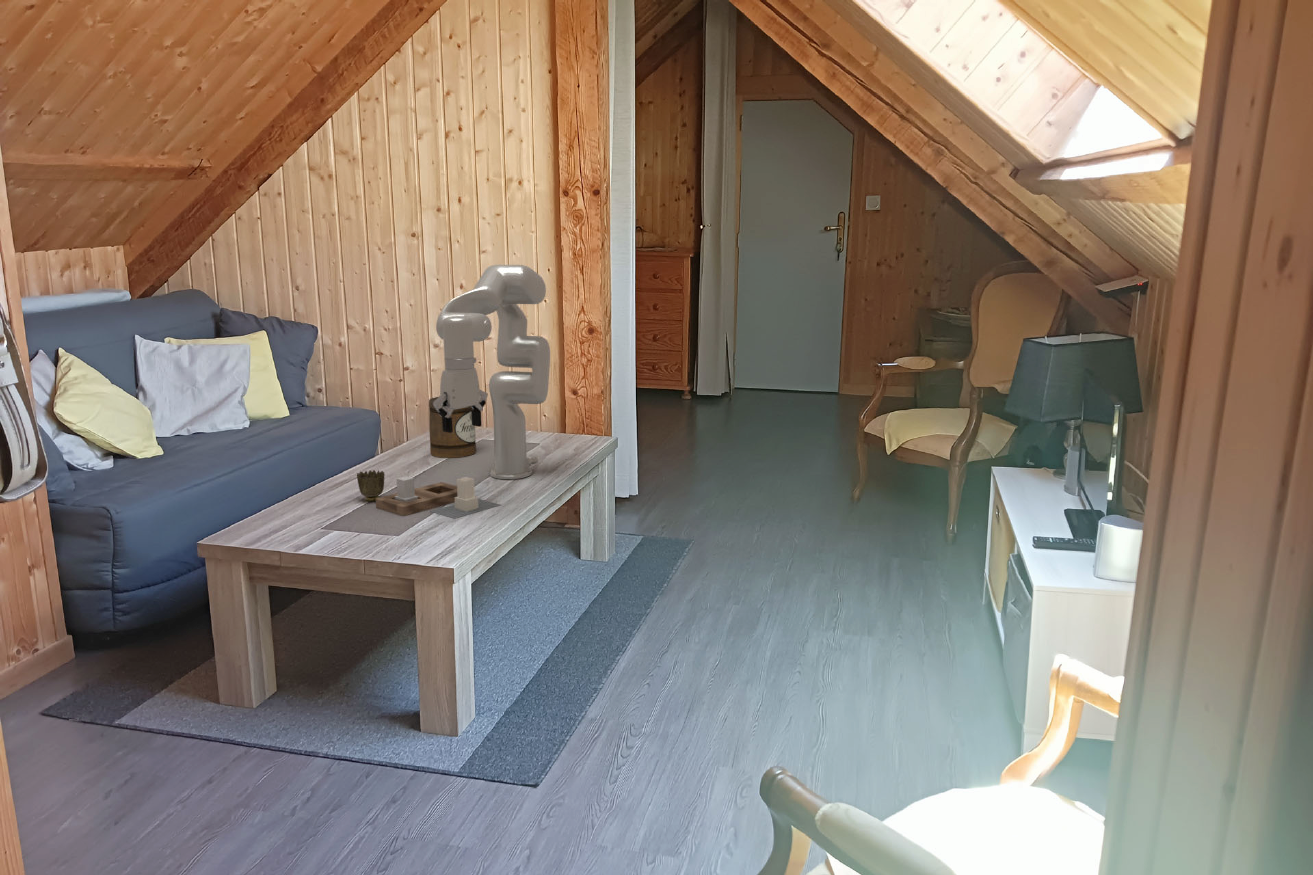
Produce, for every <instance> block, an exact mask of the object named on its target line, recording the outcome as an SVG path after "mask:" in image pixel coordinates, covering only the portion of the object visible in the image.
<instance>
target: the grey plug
mask: <svg viewBox="0 0 1313 875" xmlns="http://www.w3.org/2000/svg"><path fill="white" fill-rule="evenodd" d="M414 489H415V479H414V477H410V476H407V475H406V476H402V477H397V478H396V490H397V491H396V493H397V494H398V496H395V500H398V501H401V502H404V503H406V502H410V501H413V500H417V499H418V496H415V490H414Z"/></svg>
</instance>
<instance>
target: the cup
mask: <svg viewBox="0 0 1313 875" xmlns="http://www.w3.org/2000/svg"><path fill="white" fill-rule="evenodd" d="M385 477H386V476H385V472H384V470H381V471H380V470H379V469H378V471H375V469H374V470H369V471H368V472H367V470H365V471H364V472H363V471H359V472H357V473H356V479H357V485H358V490H359V492H360V494H361V495H362V496H364V497H365V501H366V502H376V498H380V495H381V494H383V492H384V487H385Z"/></svg>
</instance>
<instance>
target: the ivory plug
mask: <svg viewBox="0 0 1313 875" xmlns="http://www.w3.org/2000/svg"><path fill="white" fill-rule="evenodd" d="M456 486H457V495H458V497H454V498H455V502H454V504H455V508H456V509H460V510H463V511H470V510H474V509H477V508H478V499H479V497H478V496H476V494H475V492H476V490H475V479H474V478H471V477H467V476H465V477H461V478H457V479H456Z"/></svg>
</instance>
